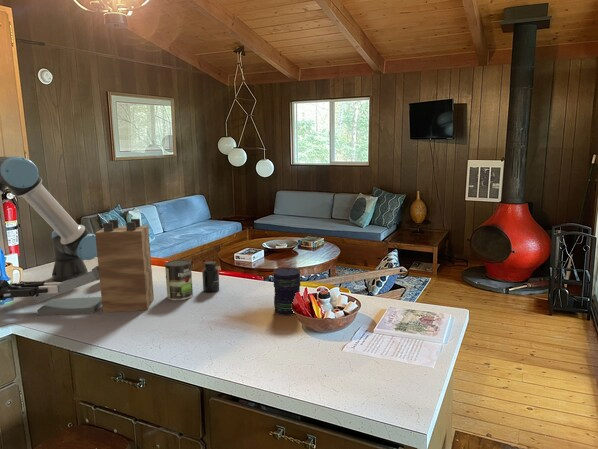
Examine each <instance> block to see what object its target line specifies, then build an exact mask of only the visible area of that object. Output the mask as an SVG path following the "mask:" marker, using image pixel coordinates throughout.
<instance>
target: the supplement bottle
mask: <svg viewBox="0 0 598 449" xmlns="http://www.w3.org/2000/svg"><path fill="white" fill-rule="evenodd" d="M201 275H202V277H201V278H202V290H203V292H205V293H216V292H218V291H220V270H219V269H218V268H217V262H216V261H212V260H211V261H210V260H209V261H206V262H204V268H203V269H202V274H201Z"/></svg>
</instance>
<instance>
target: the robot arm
mask: <svg viewBox="0 0 598 449" xmlns="http://www.w3.org/2000/svg"><path fill="white" fill-rule="evenodd" d="M42 182H43V178H42V177H41V175H39V168H38V166H37V165H36V164H35V163H34V162H33V161H31V160H30V159H28V158H27V157H23V156H0V195H3V194H4V192H5V190H6V189H9V191H11V192H12V193H13V195H14V196H16V197H18V198H19V197H20V198H23V199H24V200H25V201H26V203H27V204H28V205H30V206H31V207H32V209H33V210H35V212H36V213H37V214H39V216H40V217H41V218H42V219H43V220H44V221H45V222H46V223H47V224H48V225H49V227H51V228H52V229H53V231H51V241H52V250H53V257H54V258H53V259H54V264H53V268H52V271H51V278H52V281H55V282H46V281H45V280H42V281H39V280H38V281H23V280H21V281H20V282H19V283H18V282H13V283H11V284H10V283H9V282H8V280H6V279H0V301H6V300H7V299H11V298H12V299H13V298H25V297H26V298H27V297H29V298H30V297H33V296H35V295H36V297H37V296H39V294H52V293H59V292H58V286H53V285H55V284H58V283H61V282H63V281H66V280H69V279H72V278H74V277H77V276H80V275H82V274H85V273H88V272H89V271H88V267H87V266H86V264H85V262H84V261H91V260H94V259H95V258H98V257H97V247H96V237H95V233H91V232H90V231H89V230H88V228H87V227H86V226H84V225H83V224H78V223H77V222H76V221H75V220H74V219H73V218H72V216H71V215H70V214H69V213H68V212H67V211H66V210H65V208H64V207H63V205H61V204H60V202H58V201H57V199H55V198H54V196H53V195H52V194H51V193H50V192H49V190H47V189H46V187H45V186H44V185H43V184H42Z"/></svg>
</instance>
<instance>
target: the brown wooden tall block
mask: <svg viewBox="0 0 598 449" xmlns="http://www.w3.org/2000/svg"><path fill="white" fill-rule="evenodd" d="M102 225H103V228H101V229H99V230H97V231H96V232H95V233H94V235H95V237H96V247H97V257H96V258H97V266H98V267H99V278H100V280H99V285H100V286H99V287H100V295H101V296H100V297H101V298H102V305H101V307H102V313H112V312H114V313H115V312H130V311H131V312H132V311H133V312H134V311H148V310H149V308H150V307H151V305H152V303H153V302H154V300H155V295H154V284H153V282H154V281H153V269H152V268H153V267H152V259H151V258H152V256H151V244H150V243H151V242H150V241H151V240H150V230H149V224H148V225H145V224H143V225H141V219H140V218H131V219H130V221H126V223H125V225H119V219H116V218H115V219H109V220H108V222H103V224H102Z"/></svg>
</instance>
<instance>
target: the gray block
mask: <svg viewBox="0 0 598 449" xmlns="http://www.w3.org/2000/svg"><path fill="white" fill-rule="evenodd" d="M100 307H102V298H101V296H92V297H90V296H89V297H88V296H87V297H72V298H71V297H70V298H52V299H49V300H48V301H46V303H44V304H43V305H42V306H40V308H38V309H37V310H36V312H37V316H52V315H54V316H55V315H71V314H72V315H75V314H91V313H92V314H95V313H96V312H97V311H98V310H99V309H100Z"/></svg>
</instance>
